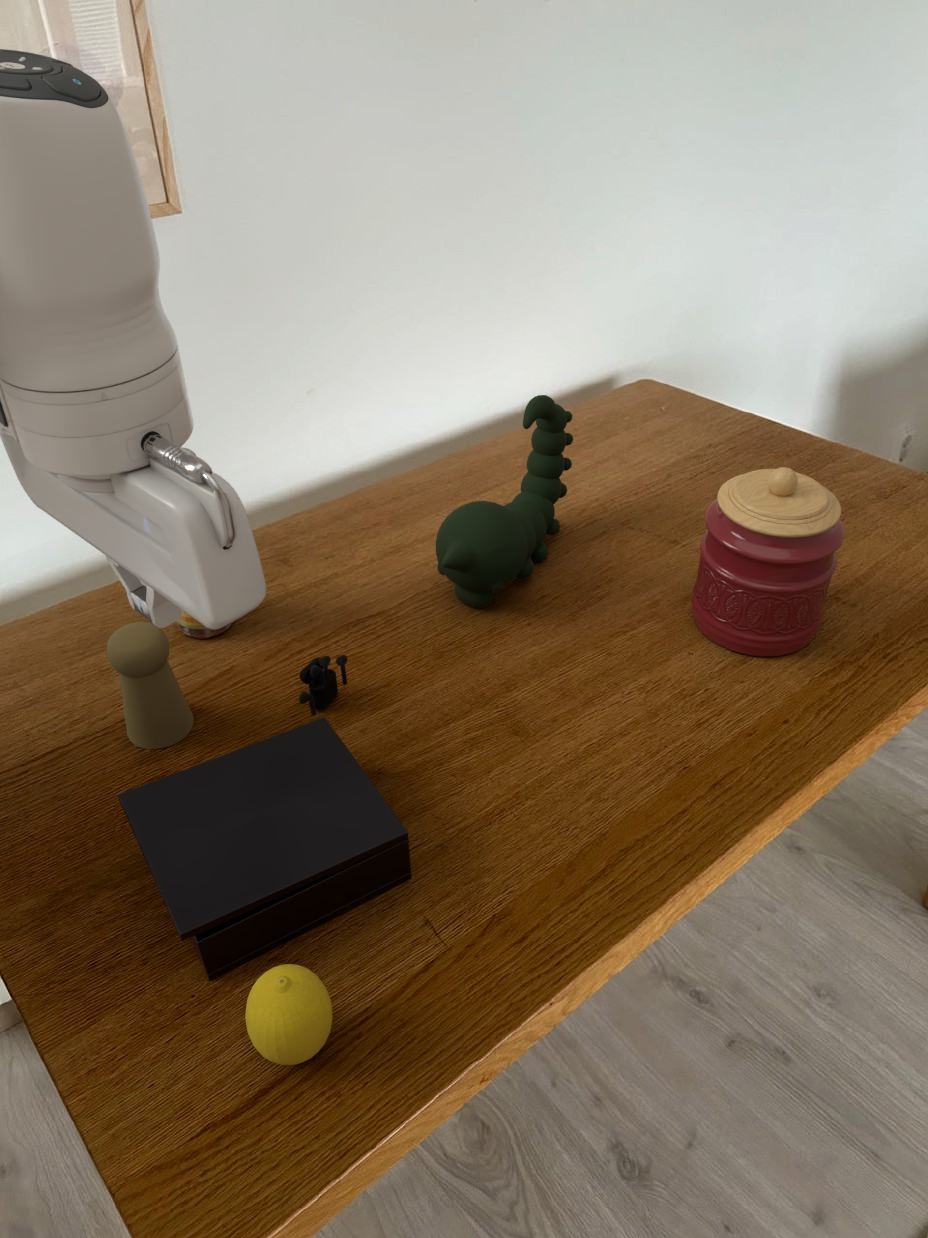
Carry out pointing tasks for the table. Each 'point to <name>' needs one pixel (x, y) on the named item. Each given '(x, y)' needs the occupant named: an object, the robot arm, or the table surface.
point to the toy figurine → (509, 516)
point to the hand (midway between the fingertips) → (157, 614)
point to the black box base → (300, 911)
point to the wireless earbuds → (321, 682)
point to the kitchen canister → (767, 562)
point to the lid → (257, 825)
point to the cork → (148, 686)
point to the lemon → (288, 1014)
